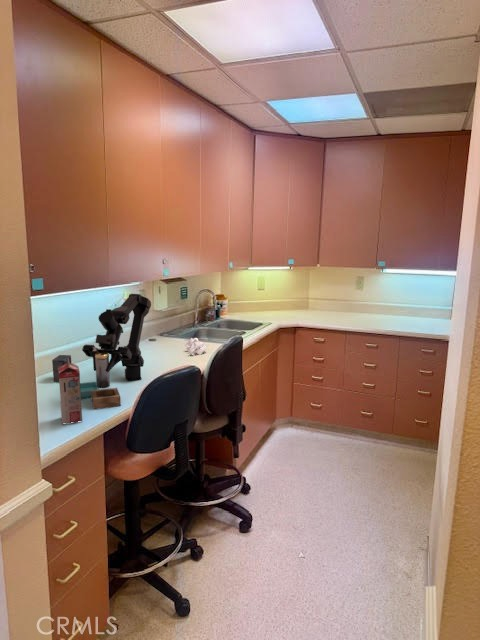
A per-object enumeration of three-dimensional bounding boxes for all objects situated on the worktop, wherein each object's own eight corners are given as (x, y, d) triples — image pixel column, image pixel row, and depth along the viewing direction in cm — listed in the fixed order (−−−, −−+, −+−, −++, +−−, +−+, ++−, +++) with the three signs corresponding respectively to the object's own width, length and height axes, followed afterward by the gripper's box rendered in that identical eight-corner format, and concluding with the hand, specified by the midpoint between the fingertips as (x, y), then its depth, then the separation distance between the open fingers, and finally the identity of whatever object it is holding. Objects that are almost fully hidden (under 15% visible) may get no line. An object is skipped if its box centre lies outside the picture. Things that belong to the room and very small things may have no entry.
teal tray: (97, 388, 186) (97, 381, 186) (100, 396, 177) (99, 389, 176) (70, 391, 182) (69, 384, 182) (71, 400, 172) (70, 393, 172)
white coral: (211, 349, 240) (198, 339, 237) (200, 361, 239) (188, 351, 236) (205, 344, 251) (193, 334, 248) (194, 356, 250) (183, 346, 247)
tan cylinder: (109, 383, 173) (108, 351, 170) (110, 387, 168) (109, 355, 166) (96, 384, 171) (94, 352, 168) (96, 388, 166) (95, 356, 164)
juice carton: (80, 414, 159) (77, 357, 155) (82, 422, 153) (79, 362, 149) (61, 417, 156) (57, 358, 152) (62, 424, 150) (58, 364, 146)
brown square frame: (117, 396, 177) (116, 387, 176) (120, 405, 168) (120, 396, 167) (91, 400, 173) (91, 390, 172) (93, 409, 164) (93, 399, 163)
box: (60, 376, 200) (59, 354, 198) (72, 377, 200) (71, 355, 198) (53, 382, 192) (51, 359, 190) (65, 382, 192) (64, 359, 190)
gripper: (83, 324, 170) (69, 359, 162) (128, 327, 167) (116, 362, 159) (93, 339, 179) (81, 373, 171) (136, 341, 177) (126, 376, 168)
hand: (100, 371), depth 167 cm, fingers closed on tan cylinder, 5 cm apart
